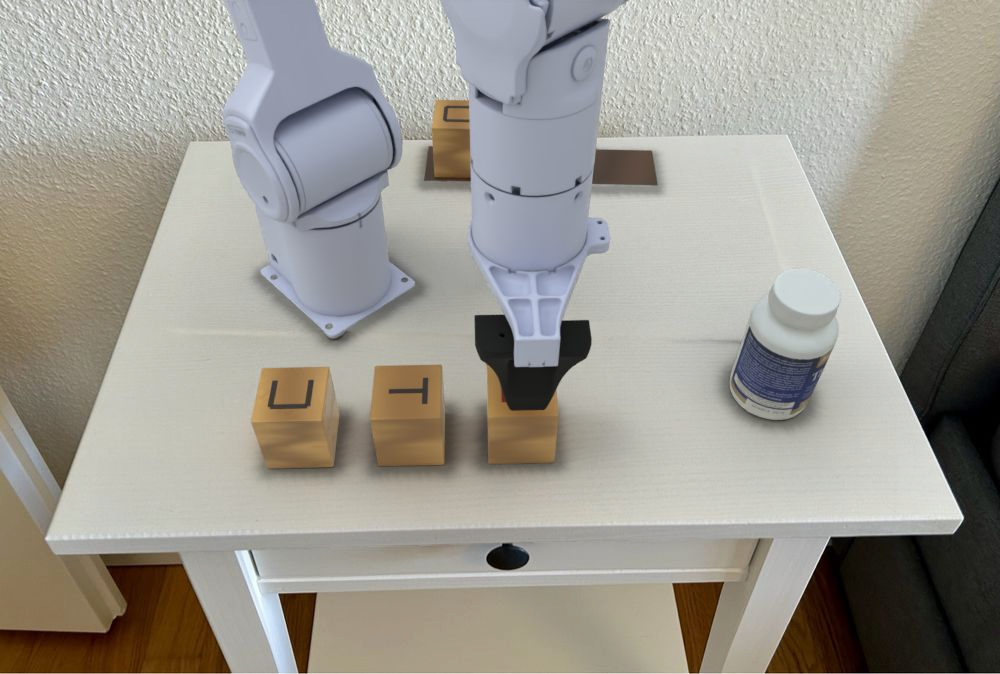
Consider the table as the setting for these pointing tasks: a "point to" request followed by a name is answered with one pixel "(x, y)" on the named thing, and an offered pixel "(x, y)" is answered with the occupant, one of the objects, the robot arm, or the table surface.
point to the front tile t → (408, 415)
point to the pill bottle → (786, 345)
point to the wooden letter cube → (519, 429)
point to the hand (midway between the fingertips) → (524, 352)
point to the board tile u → (451, 139)
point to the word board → (595, 168)
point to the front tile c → (296, 417)
